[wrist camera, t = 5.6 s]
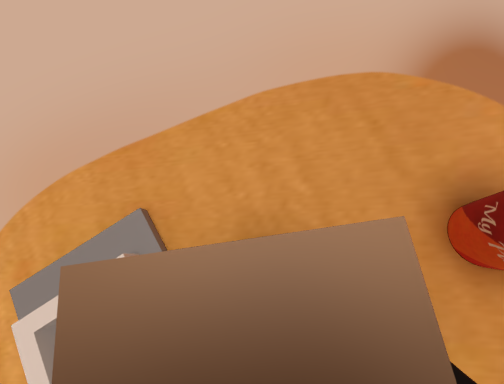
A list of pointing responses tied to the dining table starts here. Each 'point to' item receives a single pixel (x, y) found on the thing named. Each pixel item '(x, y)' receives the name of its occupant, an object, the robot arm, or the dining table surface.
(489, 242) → the paper cup
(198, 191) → the dining table surface
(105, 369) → the tall wooden pillar
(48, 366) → the socket board
